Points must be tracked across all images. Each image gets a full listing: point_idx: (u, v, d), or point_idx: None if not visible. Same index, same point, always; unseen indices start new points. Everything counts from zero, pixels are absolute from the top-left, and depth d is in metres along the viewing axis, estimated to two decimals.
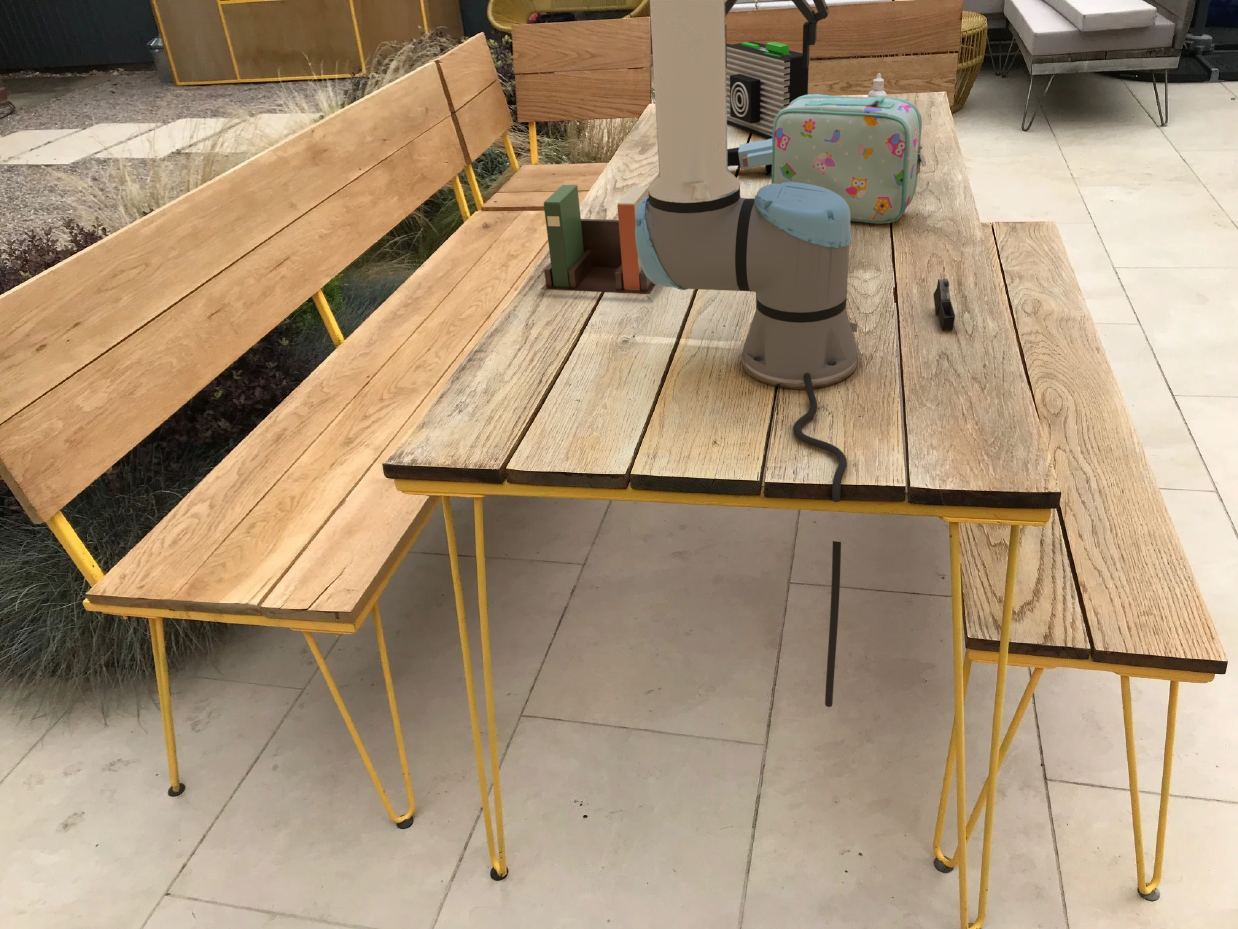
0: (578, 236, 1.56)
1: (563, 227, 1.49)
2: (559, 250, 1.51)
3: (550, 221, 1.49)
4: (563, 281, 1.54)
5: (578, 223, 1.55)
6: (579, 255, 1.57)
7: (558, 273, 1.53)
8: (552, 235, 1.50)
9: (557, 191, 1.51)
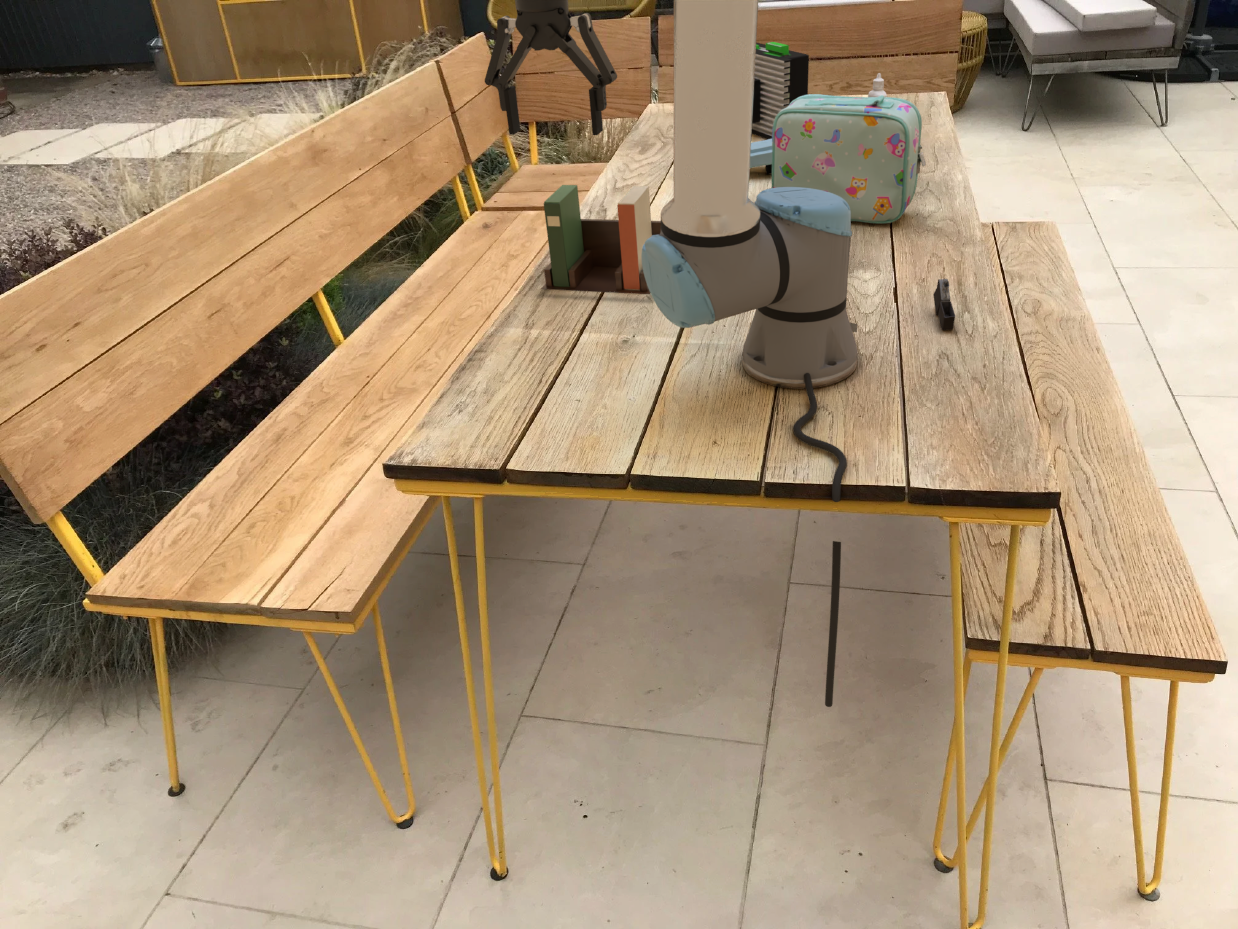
0: (578, 236, 1.56)
1: (563, 227, 1.49)
2: (559, 250, 1.51)
3: (550, 221, 1.49)
4: (563, 281, 1.54)
5: (578, 223, 1.55)
6: (579, 255, 1.57)
7: (558, 273, 1.53)
8: (552, 235, 1.50)
9: (557, 191, 1.51)
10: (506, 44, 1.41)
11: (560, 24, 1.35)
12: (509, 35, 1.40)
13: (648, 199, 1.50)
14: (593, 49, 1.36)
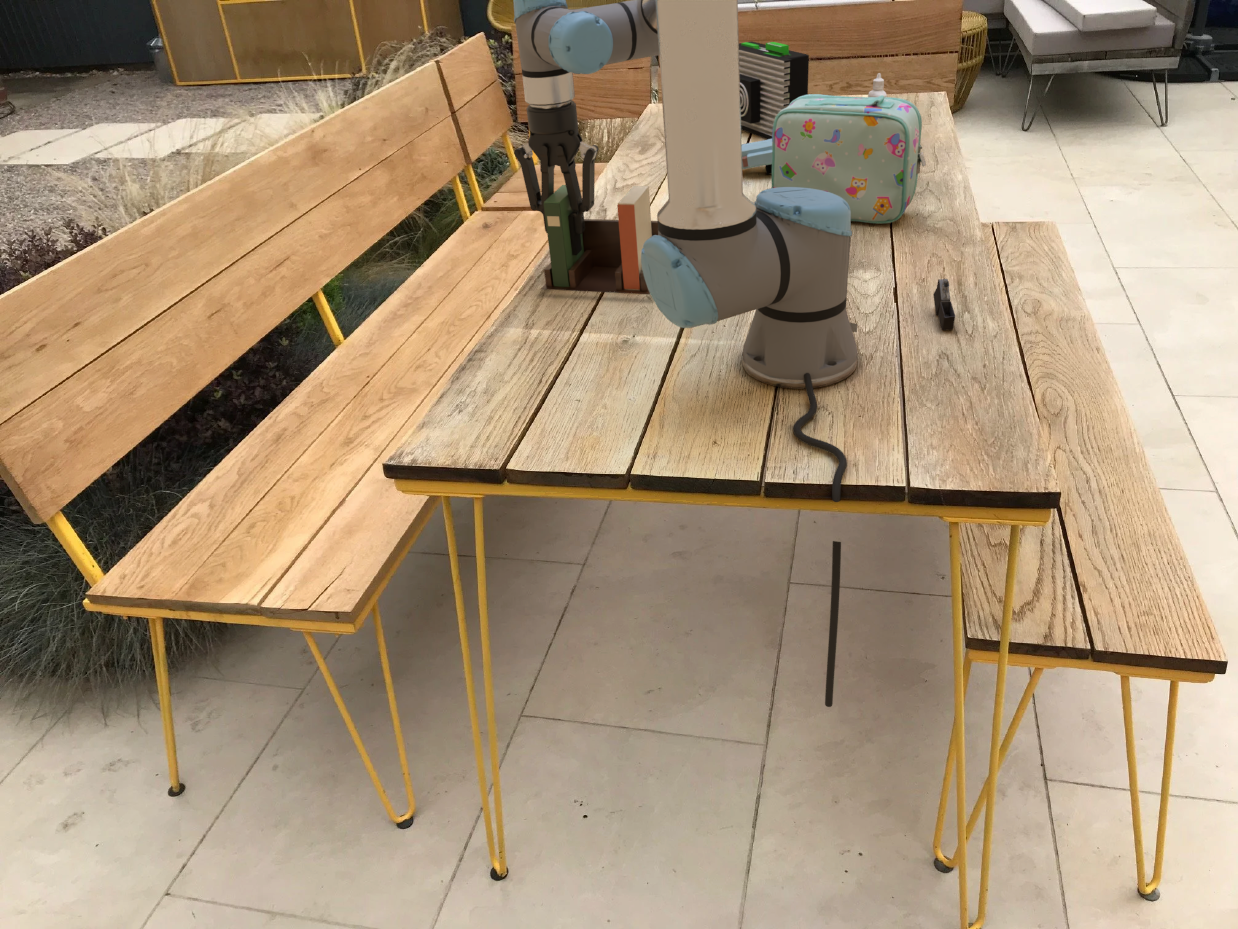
0: None
1: (563, 227, 1.49)
2: (559, 250, 1.51)
3: (550, 221, 1.49)
4: (563, 281, 1.54)
5: None
6: (579, 255, 1.57)
7: (558, 273, 1.53)
8: (552, 235, 1.50)
9: (557, 191, 1.51)
10: (532, 168, 1.50)
11: (570, 143, 1.44)
12: (531, 160, 1.49)
13: (648, 199, 1.50)
14: (586, 179, 1.46)
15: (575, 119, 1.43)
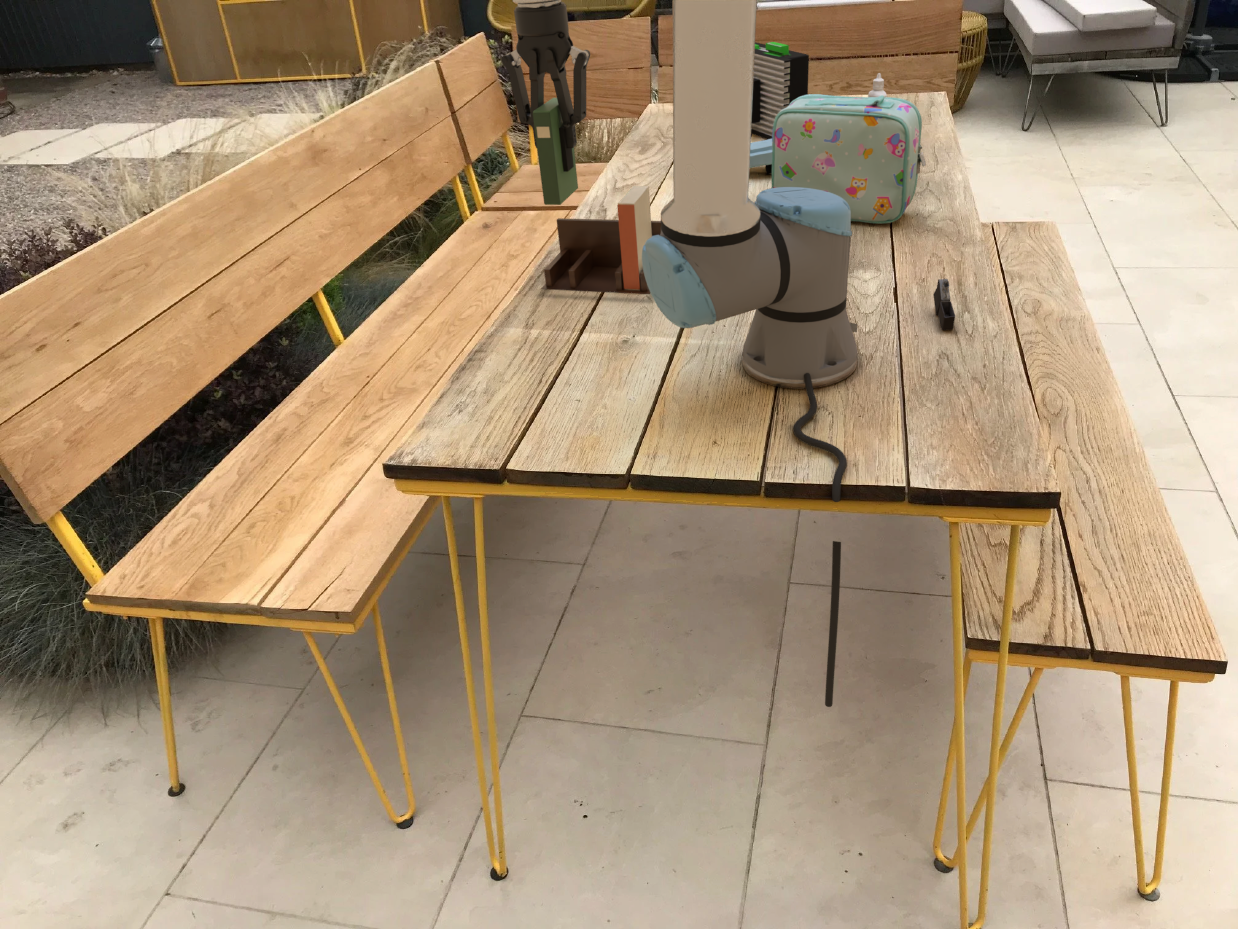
0: None
1: (553, 139, 1.42)
2: (549, 164, 1.43)
3: (540, 132, 1.41)
4: (554, 199, 1.46)
5: None
6: (571, 173, 1.50)
7: (548, 190, 1.46)
8: (542, 148, 1.42)
9: (547, 102, 1.44)
10: (521, 77, 1.42)
11: (560, 47, 1.37)
12: (519, 68, 1.42)
13: (648, 199, 1.50)
14: (578, 86, 1.39)
15: (565, 21, 1.35)
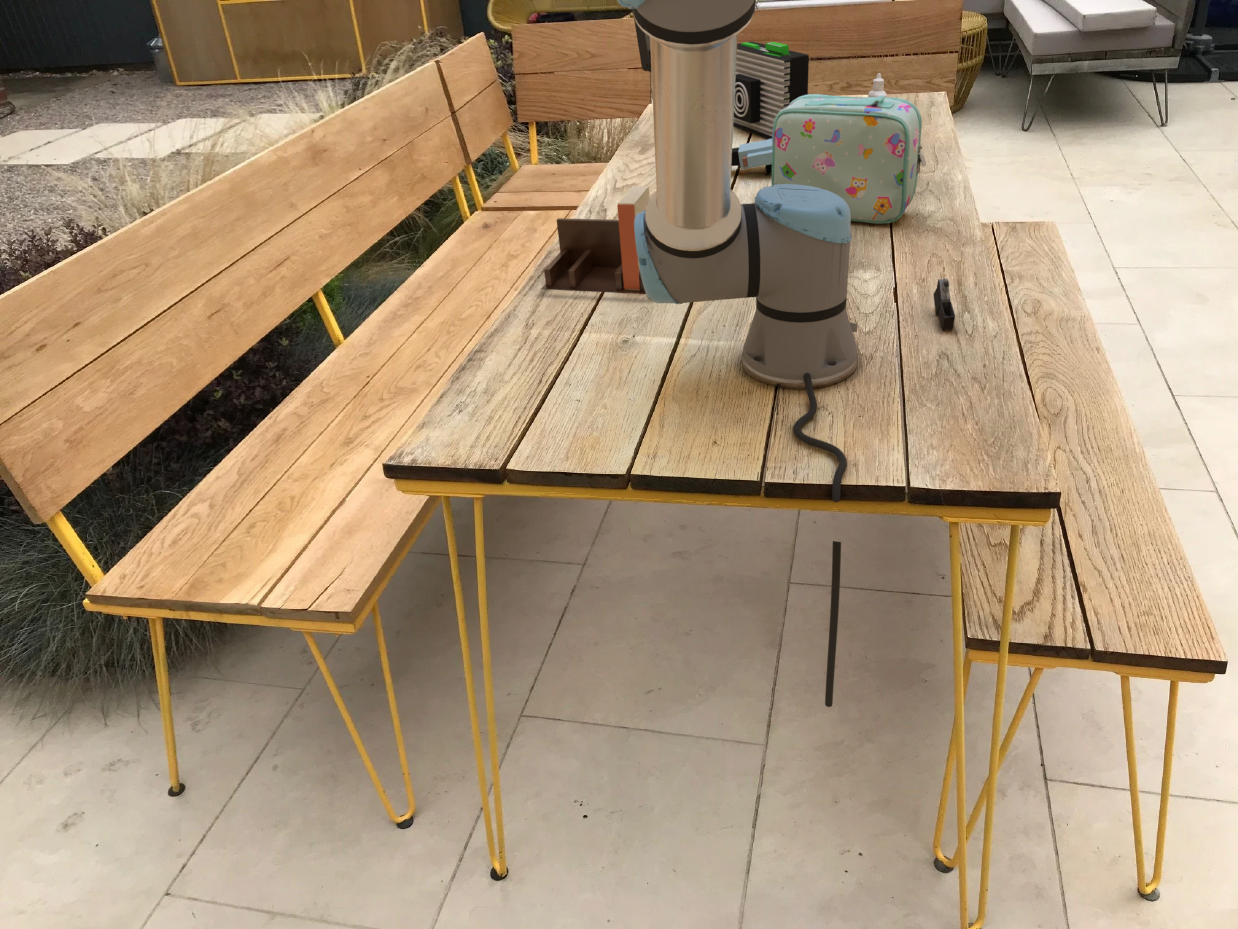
0: None
1: None
2: None
3: None
4: None
5: None
6: None
7: None
8: None
9: None
10: None
11: None
12: None
13: (648, 199, 1.50)
14: None
15: None
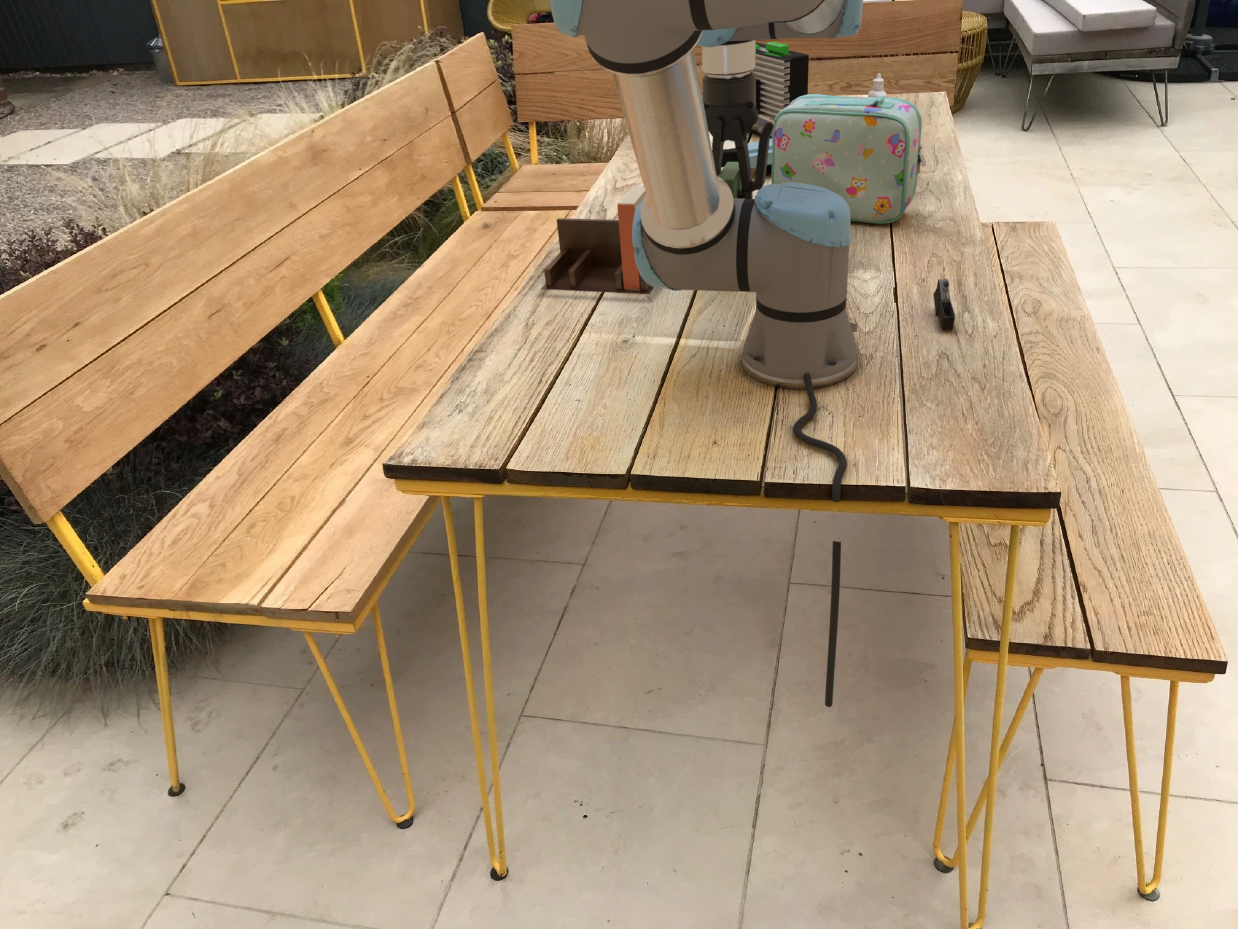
0: None
1: None
2: None
3: None
4: None
5: None
6: None
7: None
8: None
9: (725, 168, 1.42)
10: None
11: (748, 116, 1.35)
12: None
13: None
14: (762, 154, 1.38)
15: (755, 90, 1.34)
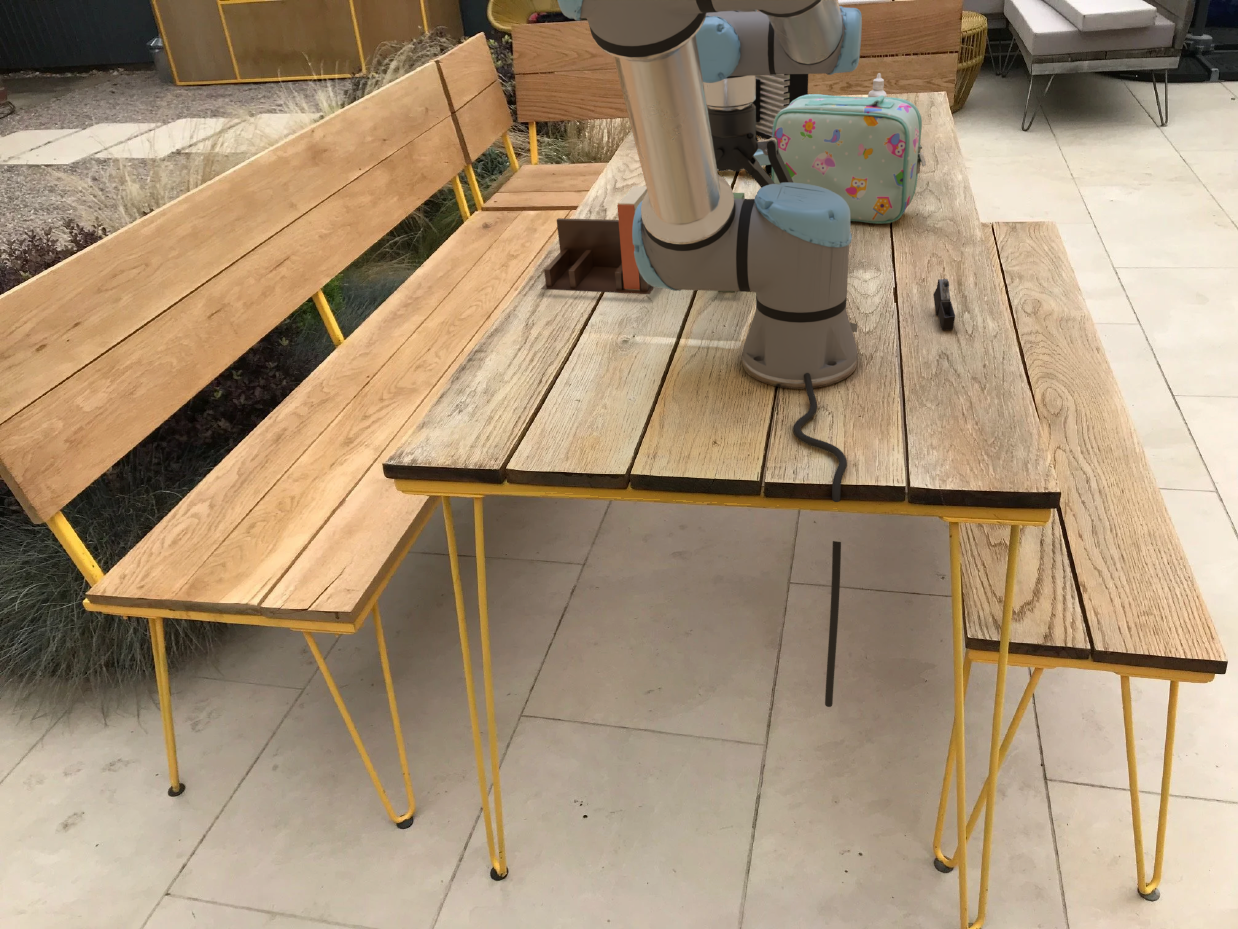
0: None
1: None
2: None
3: None
4: None
5: None
6: None
7: None
8: None
9: None
10: None
11: (748, 148, 1.38)
12: None
13: None
14: (780, 171, 1.38)
15: (755, 122, 1.36)
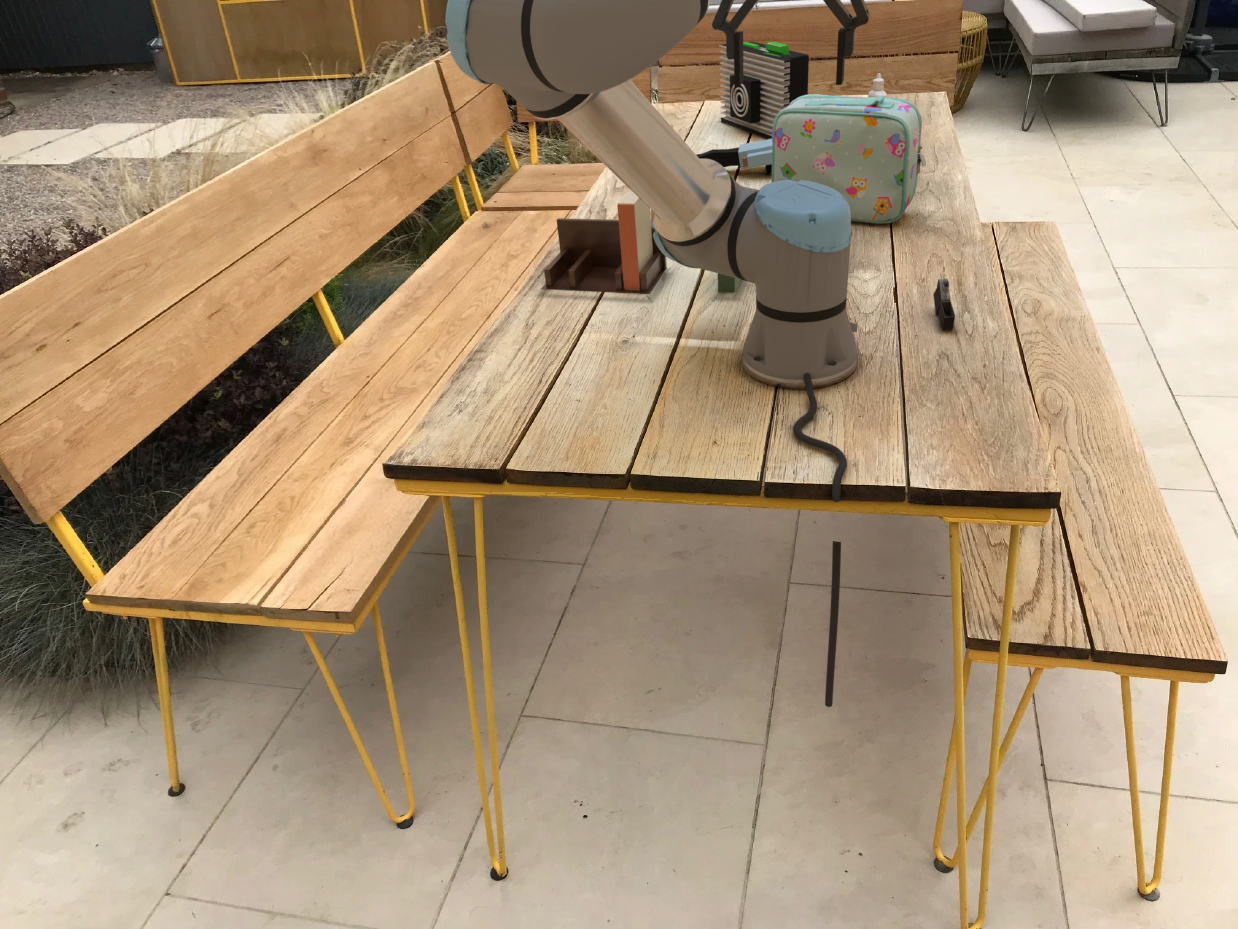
0: None
1: None
2: None
3: None
4: None
5: None
6: None
7: (724, 285, 1.47)
8: None
9: None
10: None
11: None
12: None
13: None
14: None
15: None
